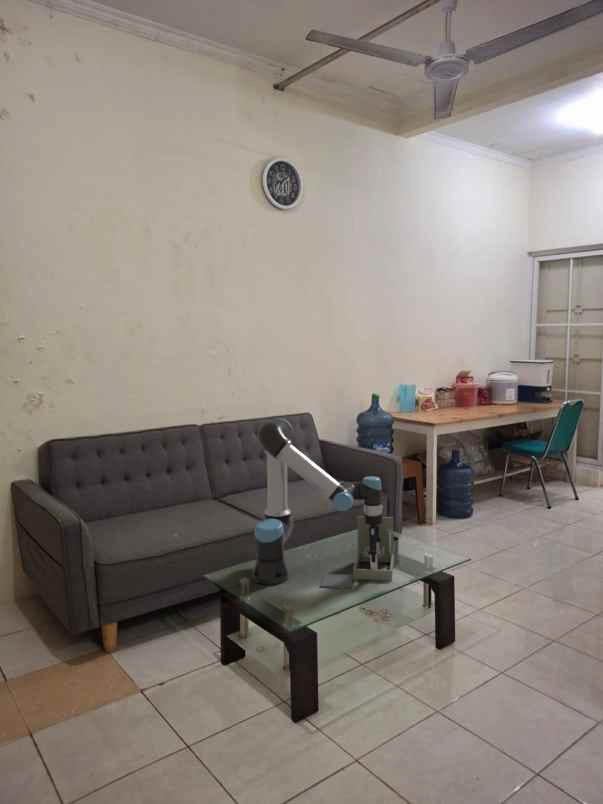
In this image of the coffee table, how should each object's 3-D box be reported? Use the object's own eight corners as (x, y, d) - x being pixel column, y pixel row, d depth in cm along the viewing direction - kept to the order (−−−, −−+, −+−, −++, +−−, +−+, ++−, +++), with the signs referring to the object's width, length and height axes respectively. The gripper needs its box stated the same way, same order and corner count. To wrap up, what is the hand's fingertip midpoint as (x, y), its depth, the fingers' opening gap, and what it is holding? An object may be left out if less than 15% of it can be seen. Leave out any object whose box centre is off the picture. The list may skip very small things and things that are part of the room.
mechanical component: (386, 572, 247) (385, 549, 245) (361, 571, 249) (361, 548, 248) (386, 569, 249) (386, 546, 248) (362, 568, 251) (362, 545, 250)
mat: (320, 587, 234) (320, 585, 234) (324, 575, 246) (324, 573, 246) (350, 588, 232) (350, 587, 231) (353, 576, 243) (353, 575, 243)
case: (353, 578, 241) (352, 531, 239) (358, 560, 261) (357, 516, 259) (391, 580, 238) (391, 532, 236) (393, 561, 258) (393, 517, 256)
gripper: (380, 522, 233) (382, 574, 235) (384, 505, 257) (385, 552, 260) (361, 522, 235) (363, 574, 237) (366, 505, 259) (368, 552, 261)
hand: (375, 562), depth 248 cm, fingers open, 13 cm apart
